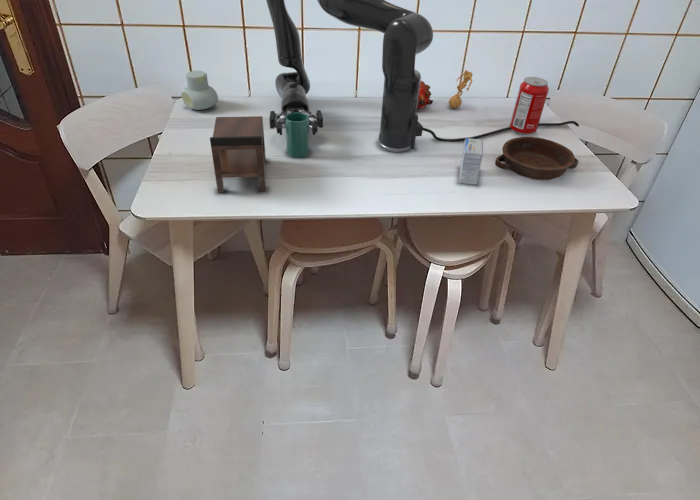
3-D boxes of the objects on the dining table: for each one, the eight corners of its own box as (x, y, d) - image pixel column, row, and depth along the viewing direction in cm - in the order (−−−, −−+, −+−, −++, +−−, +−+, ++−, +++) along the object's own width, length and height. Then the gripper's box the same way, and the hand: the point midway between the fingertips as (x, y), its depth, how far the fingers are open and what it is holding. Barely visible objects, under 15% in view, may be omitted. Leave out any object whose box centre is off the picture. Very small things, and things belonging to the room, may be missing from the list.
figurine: (443, 103, 163) (449, 65, 155) (460, 102, 164) (467, 65, 156) (453, 113, 156) (460, 75, 149) (471, 112, 158) (478, 74, 150)
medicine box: (476, 185, 123) (483, 154, 118) (458, 183, 124) (464, 151, 118) (476, 170, 129) (483, 139, 124) (459, 167, 130) (465, 137, 125)
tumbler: (308, 147, 135) (307, 112, 129) (309, 157, 131) (309, 121, 125) (286, 147, 135) (285, 112, 128) (287, 158, 130) (285, 122, 124)
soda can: (508, 134, 147) (522, 83, 137) (508, 123, 153) (521, 74, 143) (536, 138, 145) (551, 87, 136) (535, 126, 151) (549, 77, 142)
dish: (482, 153, 137) (486, 136, 134) (558, 151, 139) (564, 135, 136) (505, 187, 123) (510, 169, 120) (589, 184, 126) (596, 167, 123)
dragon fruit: (415, 103, 166) (419, 123, 157) (396, 88, 161) (400, 109, 153) (433, 84, 161) (439, 104, 153) (414, 69, 157) (419, 89, 149)
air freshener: (180, 103, 154) (174, 71, 148) (204, 97, 158) (199, 65, 152) (197, 115, 148) (192, 82, 142) (222, 108, 152) (218, 76, 146)
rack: (265, 160, 129) (261, 109, 120) (265, 191, 118) (261, 137, 109) (222, 161, 128) (215, 109, 119) (217, 193, 116) (209, 138, 108)
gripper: (268, 93, 138) (268, 118, 126) (320, 92, 140) (325, 117, 128) (270, 118, 143) (270, 145, 131) (319, 118, 145) (324, 144, 132)
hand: (297, 131), depth 129 cm, fingers open, 8 cm apart
